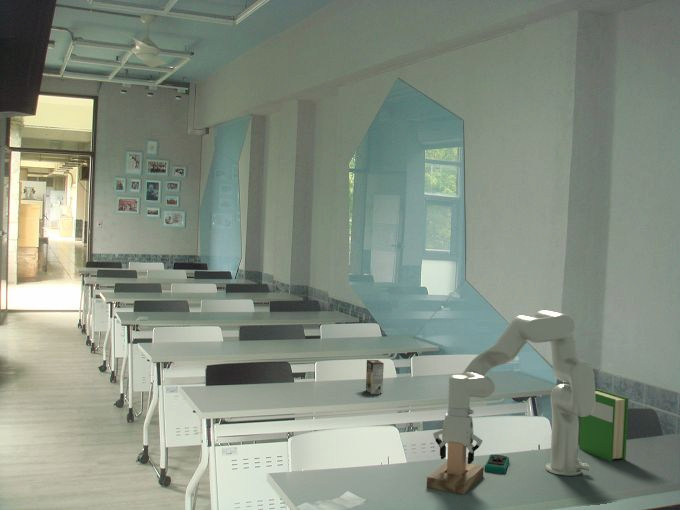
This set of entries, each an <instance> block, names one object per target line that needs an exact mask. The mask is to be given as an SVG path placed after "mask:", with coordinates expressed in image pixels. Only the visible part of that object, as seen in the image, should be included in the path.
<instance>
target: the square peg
mask: <svg viewBox="0 0 680 510" xmlns="http://www.w3.org/2000/svg"><path fill="white" fill-rule="evenodd" d="M446 462H447V473H448V474H454V475H459V476H463V475H465V471H466V463H467V447H466V446H463V444H459V443H453V442H448V443H447V460H446Z"/></svg>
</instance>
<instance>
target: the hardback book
mask: <svg viewBox="0 0 680 510" xmlns="http://www.w3.org/2000/svg"><path fill="white" fill-rule="evenodd" d="M595 398H596V401H595V408H594V410H593V412H592V413H591V414H590V415H589V416H587V417H580V419H579V440H578V450H582V451H585V452H587V453H589V454H592V455H594V456H595V457H599V458H600V459H604V460H606V461H608V462H609V463H610V462H613V460H615V459H620V460H622V461H626V457H627V437H628V419H629V418H628V417H629V399H630V398H629V397H625V396H623V395H619V394H615V393H612V392H609V391H605V390H604V389H599V388H596V387H595Z"/></svg>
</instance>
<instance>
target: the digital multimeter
mask: <svg viewBox="0 0 680 510" xmlns="http://www.w3.org/2000/svg"><path fill="white" fill-rule="evenodd" d="M509 464H510V457H508V456H507V455H502V454H490V455H489V457H488V460H487V462H486V463H485V464H484V470H483V471H484V472H489V473H494V474H495V473H496V474H505V473H506V470H507V467H508V465H509Z"/></svg>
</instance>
